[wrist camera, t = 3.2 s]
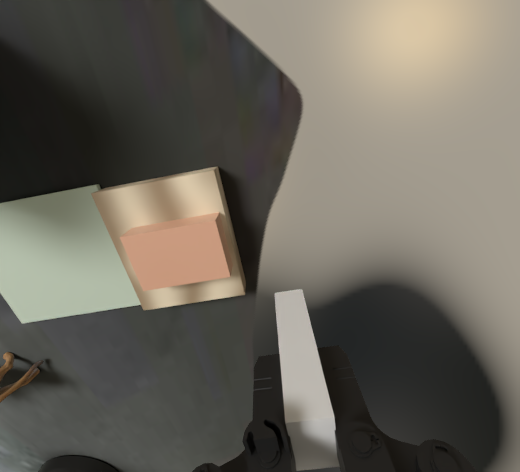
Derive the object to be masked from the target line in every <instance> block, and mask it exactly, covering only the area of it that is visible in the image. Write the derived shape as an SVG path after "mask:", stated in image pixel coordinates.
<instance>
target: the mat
mask: <svg viewBox="0 0 520 472" xmlns="http://www.w3.org/2000/svg"><path fill="white" fill-rule="evenodd" d="M99 190H101V188H100V185H99V184H97V185H91V186H86V187H81V188H76V189H71V190H65V191H60V192H55V193H50V194H45V195H40V196H34V197H29V198H24V199H19V200H14V201H8V202H3V203H0V293H1V294H2V296H3V297H4V299H5V300H6V301H7V303H8V304H9V306H10V307H11V309H12V310H13V311H14V313H15V314H16V316H17V317H18V318H19V320H20V321H21V323H28V322H35V321H41V320H47V319H54V318H60V317H66V316H73V315H79V314H85V313H92V312H98V311H104V310H111V309H117V308H123V307H130V306H136V305H141V303H140V301H139V299H138V297H137V294H136V292H135V290H134V288H133V286H132V283H131V281H130V279H129V277H128V275H127V272H126V270H125V268H124V266H123V264H122V261H121V259H120V257H119V255H118V253H117V250H116V248H115V246H114V244H113V241H112V239H111V237H110V235H109V233H108V230H107V228H106V226H105V224H104V222H103V219H102V217H101V215H100V213H99V211H98V208H97V206H96V204H95V202H94V200H93V197H92V195H91V193H94V192H96V191H99Z"/></svg>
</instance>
